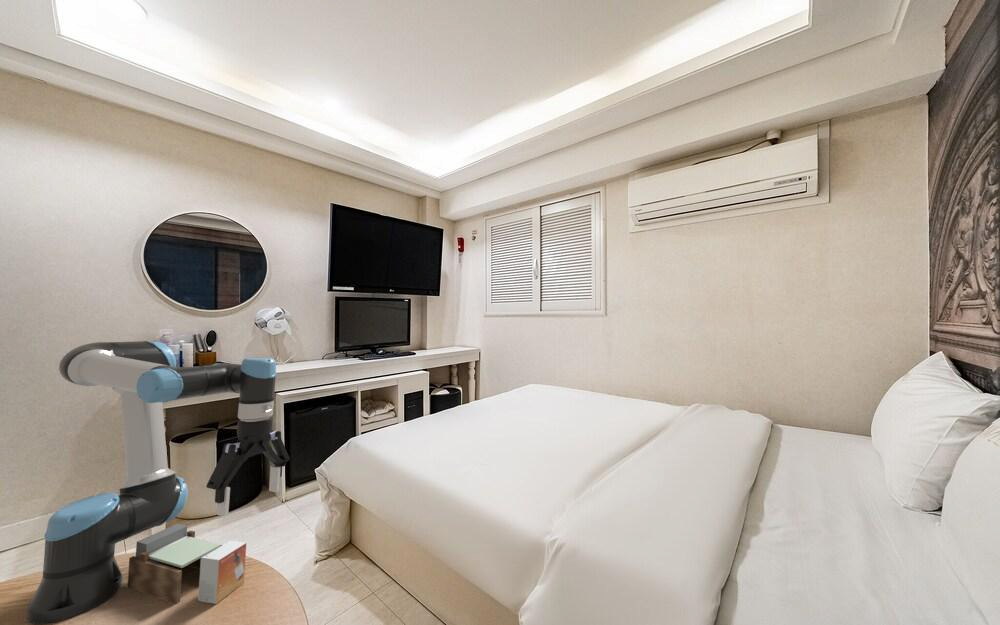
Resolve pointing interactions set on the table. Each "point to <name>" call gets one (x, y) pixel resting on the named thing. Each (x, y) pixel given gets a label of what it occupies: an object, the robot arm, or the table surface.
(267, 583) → the table surface
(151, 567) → the trapdoor frame
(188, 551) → the trapdoor
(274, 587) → the table surface
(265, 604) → the table surface
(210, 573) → the small box
